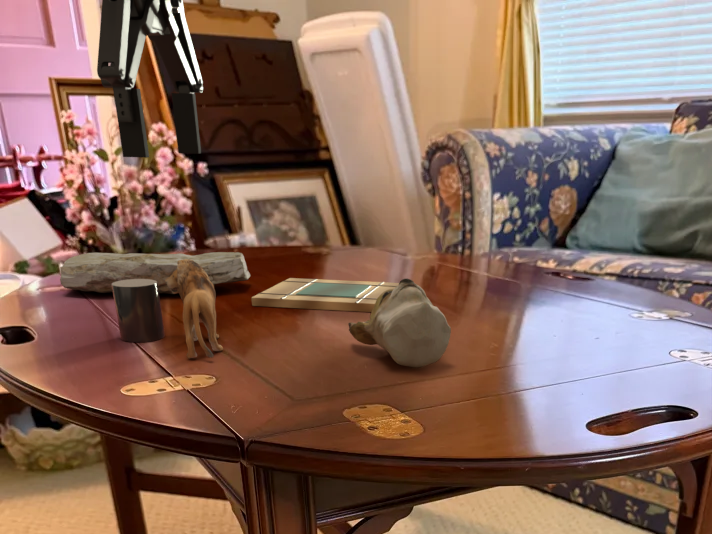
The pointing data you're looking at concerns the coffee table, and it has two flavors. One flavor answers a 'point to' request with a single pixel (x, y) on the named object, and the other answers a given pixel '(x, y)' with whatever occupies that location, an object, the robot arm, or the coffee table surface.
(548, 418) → the coffee table surface
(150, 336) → the black round canister
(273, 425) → the coffee table surface
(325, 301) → the grid board
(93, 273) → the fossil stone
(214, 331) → the lion figurine
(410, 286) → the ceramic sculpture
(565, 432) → the coffee table surface
